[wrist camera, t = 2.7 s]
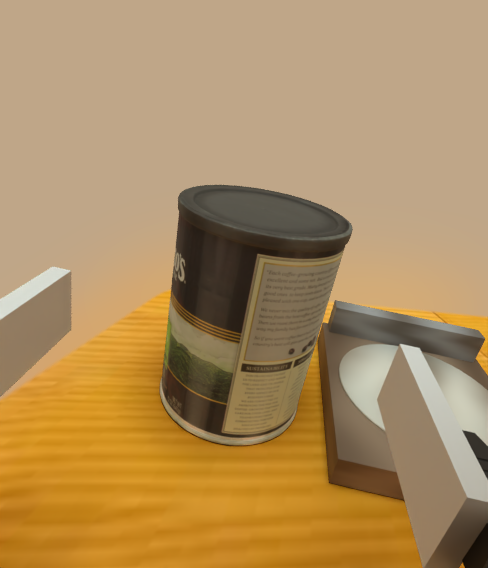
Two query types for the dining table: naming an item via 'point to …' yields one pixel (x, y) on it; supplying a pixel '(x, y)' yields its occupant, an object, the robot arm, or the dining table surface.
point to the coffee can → (246, 309)
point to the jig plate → (369, 380)
